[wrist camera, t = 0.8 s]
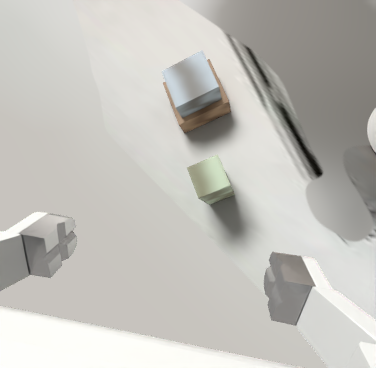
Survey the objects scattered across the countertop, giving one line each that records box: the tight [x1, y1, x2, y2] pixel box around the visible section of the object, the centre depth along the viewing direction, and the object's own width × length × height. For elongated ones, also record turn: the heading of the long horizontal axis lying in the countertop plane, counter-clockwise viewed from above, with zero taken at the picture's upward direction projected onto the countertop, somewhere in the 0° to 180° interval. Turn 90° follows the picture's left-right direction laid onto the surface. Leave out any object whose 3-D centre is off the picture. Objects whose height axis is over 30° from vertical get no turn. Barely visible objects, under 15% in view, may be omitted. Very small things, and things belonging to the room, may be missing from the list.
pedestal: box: [162, 51, 231, 133], centre depth 44 cm, size 10×10×8 cm
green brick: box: [187, 155, 235, 205], centre depth 39 cm, size 5×5×10 cm
